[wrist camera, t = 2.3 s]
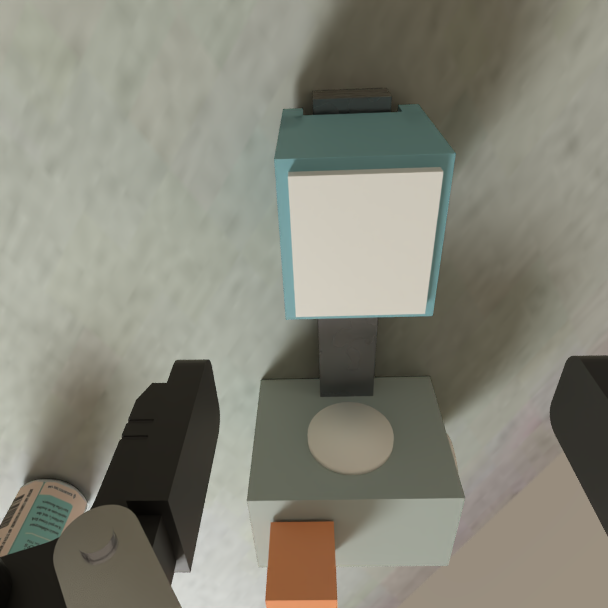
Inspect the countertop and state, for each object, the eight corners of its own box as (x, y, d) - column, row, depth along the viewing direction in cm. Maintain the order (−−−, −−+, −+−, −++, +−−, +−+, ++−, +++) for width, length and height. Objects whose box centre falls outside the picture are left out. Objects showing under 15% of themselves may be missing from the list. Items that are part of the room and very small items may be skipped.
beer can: (31, 511, 37) (-69, 708, 27) (14, 471, 35) (-103, 675, 25) (95, 514, 37) (18, 711, 28) (83, 475, 35) (-7, 678, 25)
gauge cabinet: (260, 374, 29) (246, 495, 22) (440, 371, 29) (478, 492, 22) (268, 445, 33) (258, 567, 26) (428, 443, 32) (458, 565, 26)
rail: (312, 90, 20) (312, 99, 19) (386, 88, 20) (391, 96, 19) (319, 378, 29) (320, 397, 28) (370, 377, 29) (372, 396, 28)
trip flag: (270, 522, 23) (265, 600, 20) (333, 521, 23) (337, 600, 20) (275, 555, 25) (270, 632, 22) (333, 554, 25) (337, 631, 22)
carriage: (283, 109, 20) (273, 163, 14) (418, 104, 20) (459, 157, 14) (290, 242, 23) (285, 326, 18) (405, 238, 23) (434, 322, 18)
